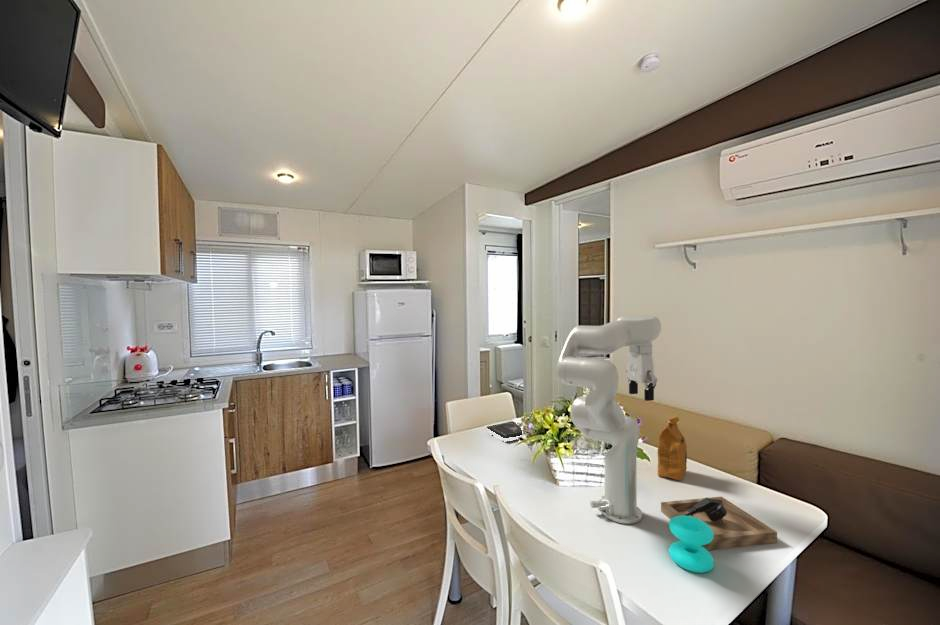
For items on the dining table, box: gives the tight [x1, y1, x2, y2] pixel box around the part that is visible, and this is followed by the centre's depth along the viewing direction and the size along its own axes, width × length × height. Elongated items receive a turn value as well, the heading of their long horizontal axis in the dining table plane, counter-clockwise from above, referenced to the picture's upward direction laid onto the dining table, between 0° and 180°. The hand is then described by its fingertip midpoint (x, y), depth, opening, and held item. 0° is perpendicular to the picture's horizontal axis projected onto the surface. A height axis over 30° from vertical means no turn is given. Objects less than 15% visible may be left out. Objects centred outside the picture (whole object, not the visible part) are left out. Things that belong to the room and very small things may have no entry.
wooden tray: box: [660, 496, 778, 552], centre depth 114 cm, size 22×20×3 cm
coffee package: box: [657, 415, 688, 481], centre depth 147 cm, size 10×12×22 cm
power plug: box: [684, 497, 727, 524], centre depth 115 cm, size 6×8×12 cm
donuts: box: [668, 515, 715, 574], centre depth 98 cm, size 10×10×10 cm
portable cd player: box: [486, 421, 522, 438], centre depth 195 cm, size 16×17×4 cm
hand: (641, 396), depth 137 cm, fingers open, 9 cm apart
